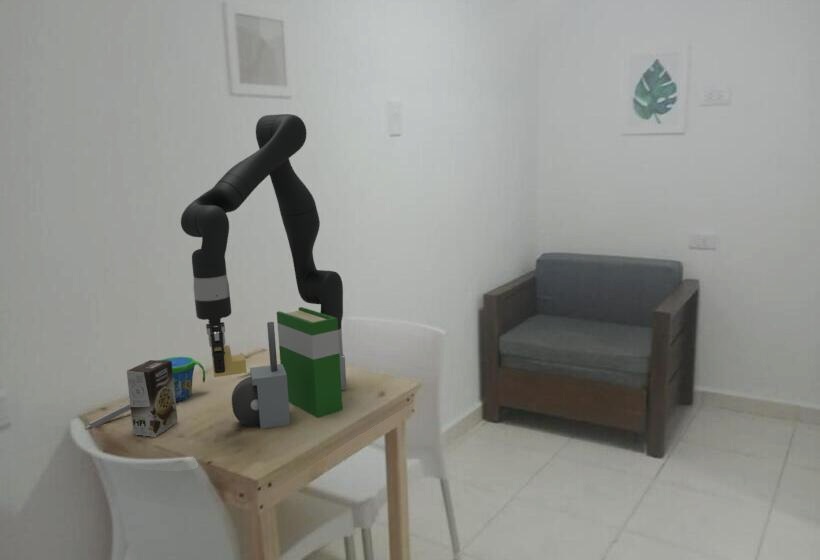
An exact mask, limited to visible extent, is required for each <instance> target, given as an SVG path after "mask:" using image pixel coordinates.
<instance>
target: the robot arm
mask: <svg viewBox="0 0 820 560" xmlns="http://www.w3.org/2000/svg"><path fill="white" fill-rule="evenodd" d="M306 127H307V126H306V124H305V122H304V121H303V119H302V118H301V117H299V116H298V115H295V114H291V113H290V114H289V113H285V114H283V113H282V114H280V113H279V114H268V115H263V116H261V117H260V118H259V119H258V120H257V122H256V126H255V137H256V141H257V145H258V148H259V149H258V150H257V151H255V152H253V154H251V155H249V156H247V157H245V158H244V159H242V160H241V161H239V162H238V163H236V164H235V165H233V166H232V167H231V168H230V169H229V170H227V172H226V173H225V174H223V176H222V177H221V178H220V179H218V181H217V182H216V183H215V185H214V186H213V187H211V189H208V191H205V192H204V193H203V194H201V195H200V196H199V197H197V198H195V200H193V201H192V202H190V203H189V204H188V205H187V206H186V208H185V209H184V211H183V212H182V215H181V218H180V226H181V229H182V231H183V232H184V233H185V234H186V235H188V236H190V237H192V238H193V237H194V238H201V239H202V240H201V245H200V248H198V249H196V250H194V251H193V252H192V254H191V265H192V276H193V297H194V304H195V305H194V306H195V315H196V318H197V319H199V320H202V321H205V320H208V323H206V324H205V328H206V334H207V336H208V344H209V347H210V348H211V347H212V350H211V357H212V356H213V357H214V367H215V373H224V372H225V363H224V354H225V352H224V346H226V337H225V332H226V325H225V322H224V321H221V320H222V319H223V318H227V317H230V316H231V314H232V306H231V305H232V302H231V295H230V294H231V293H230V284H229V283H230V282H229V278H228V274H227V272H228V271H227V265H226V263H227V262H226V258H225V257H226V251H227V246H228V239H229V232H230V220H229V218H228V214H227V213H231V212H234V211H236V210H237V209H239V208H240V206H241V205H242V204H243V203H245V201H246V200H247V198H248V197H250V195H251V194H252V193H253V192H254V191H255V190H256V188H257V187H258V186H259V185H260V184H261V183H262V182H263V181H264V180H265V179H267V177H268V176H269V177H270V181H271V184H272V187H273V190H274V195H275V197H276V200H277V205H278V208H279V213H280V216H281V219H282V220H281V221H282V223H283V226H284V230H285V234H286V236H287V240H288V241H287V242H288V245H289V249H290V253H291V258H292V262H293V263H292V264H293V268H294V275H295V280H296V287H297V289H298V290H297V291H298V294H299V296H300V298H301V299H302V301H304V302H305V303H307V304H312V305H313V304H314V305H320V312H319V313H322V314H326V315H329V316H332V317H335V318H337V320H338V338H339V355H340V373H341V390H342V391H345V390H347V371H346V357H345V355H344V349H343V348H344V347H343V333H342V332H343V331H342V330H343V329H342V320H343V317H344V286H343V281H342V277H341V276H340V274H339V273H338V272H337V271H334V270H323V269H317V267H316V264H315V260H314V254H313V252H314V251H313V250H314V246H315V243H316V240H317V237H318V234H319V230H320V224H321V222H320V216H319V211H318V209H317V204H316V202H315V198H314V197H313V194H312V193H311V191H310V190H309V189H308V187H307V186H306V185H305V183H304V182H303V181H302V180H301V178H300V177H299V176H298V174H297V173H296V172H295V170H294V168H293V166H292V164H291V161H290V158H291V157H293V155H295V154H296V153H298V152H299V151H300V150H301V149H302V147H304V145H305V142H306V139H307V128H306ZM216 347H221V350H220V351H215V348H216ZM212 352H213V353H212Z"/></svg>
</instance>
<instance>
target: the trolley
mask: <svg viewBox="0 0 820 560" xmlns="http://www.w3.org/2000/svg"><path fill="white" fill-rule="evenodd" d="M266 324H267V326H266V327H267V328H266V329H267V340H268V350H269V352H268V353H269V365H264V366H255V367H249V372H250V373H249V374H250V376H249V377H245V378H244V379H242V380H240V381H239V382H238V383H237V384H236V386H235V387H234V389H233V391H232V392H231V393H232V394H231V406H232V412H233V415H234V417H235V418H236V420H238V422H240V423H241V424H243V425H244V426H248V427H259V428H260V430H263V429H270V428H276V427H284V426H290V425H291V418H290V417H291V414H290V403H289V400H288V386H287V374H286V372H285V369H284V366H283V364H278V359H277V358H278V356H277V347H276V345H277V344H276V333H275V330H276V329H275V322H274V321H268V322H267V323H266Z"/></svg>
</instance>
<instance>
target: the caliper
mask: <svg viewBox="0 0 820 560" xmlns="http://www.w3.org/2000/svg"><path fill="white" fill-rule="evenodd" d="M128 411H131V406H130V402H128V403H126V404H124V405H122V406H120V407H118V408H116V409H114V410H112V411H110V412H108V413H106V414H104V415H102V416H100V417H98V418H96V419H94V420H92V421H90V422H88V425H86V426H85V427H84V430H85V431H86V430H89V429H91V428H96V427H100V426H101V425H104V424H105V423H107V422H109V421H111V420H113V419H115V418H116V417H119V416H120V415H123V414H125V413H127V412H128Z"/></svg>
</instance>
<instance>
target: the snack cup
mask: <svg viewBox="0 0 820 560" xmlns="http://www.w3.org/2000/svg"><path fill="white" fill-rule="evenodd" d="M162 360H166V361H172V371H173V380H174V390H175V400H176V402H178V401H185V400H187V399H188V398H190V397H191V396H192V392H193V376H194V370H195V366H196V365H198V366H199V367H200V368H201V370H202V383H205V382H206V370H205V368H204V366H203V365H202V363H201V362H200V361H198V360H195V359H194V358H193V357H189V356H174V357H167V358H164V359H162Z"/></svg>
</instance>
